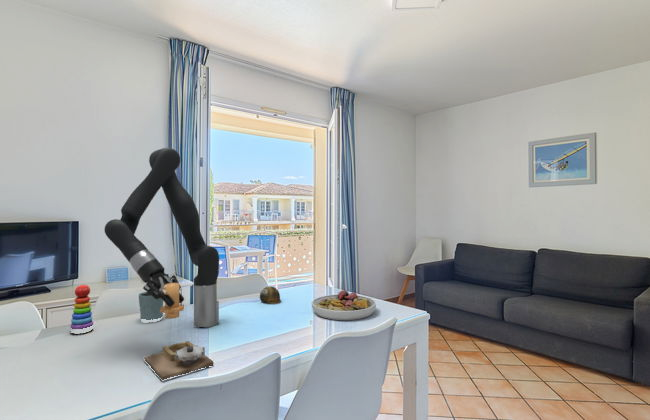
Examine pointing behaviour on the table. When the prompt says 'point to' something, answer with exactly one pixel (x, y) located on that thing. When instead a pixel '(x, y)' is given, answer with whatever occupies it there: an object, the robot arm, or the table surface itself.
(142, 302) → the grey cup
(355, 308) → the bowl
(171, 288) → the orange gear spindle
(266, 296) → the seashell
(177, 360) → the gear board
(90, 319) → the stacking toy
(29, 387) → the table surface
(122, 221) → the robot arm
